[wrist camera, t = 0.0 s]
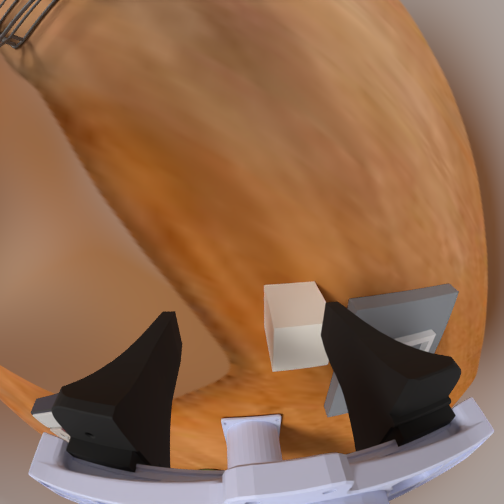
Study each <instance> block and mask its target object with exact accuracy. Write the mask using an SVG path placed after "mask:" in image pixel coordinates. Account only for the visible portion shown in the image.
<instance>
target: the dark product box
mask: <svg viewBox="0 0 504 504" xmlns="http://www.w3.org/2000/svg"><path fill="white" fill-rule="evenodd" d="M58 394H59V393H57V394H54V395H50V396H46V397H42V398H38V399H36V401H35V403H34V406H33V408H32V411H31V414H32V415H33V417H35V418H36V419H37V420H38V421H40V422H41V423H42V424H44V425H45V426H46V427H48V428H51V429H50V430H51V431H52V432H53V433H55V434H56V435H58V436H59V437H61V438H62V439H64V440H66V441H67V442H69V440H70V436H69V435H68V433H67V432H66V431H65V430H64V429H63V428H62V427H61V426H60V425H59V423H58V422H57V421H56V420H55V418H54V417H53V414H52V412H51V410H52V406H53V404H54V402H55V400H56V398H57V396H58Z"/></svg>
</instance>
